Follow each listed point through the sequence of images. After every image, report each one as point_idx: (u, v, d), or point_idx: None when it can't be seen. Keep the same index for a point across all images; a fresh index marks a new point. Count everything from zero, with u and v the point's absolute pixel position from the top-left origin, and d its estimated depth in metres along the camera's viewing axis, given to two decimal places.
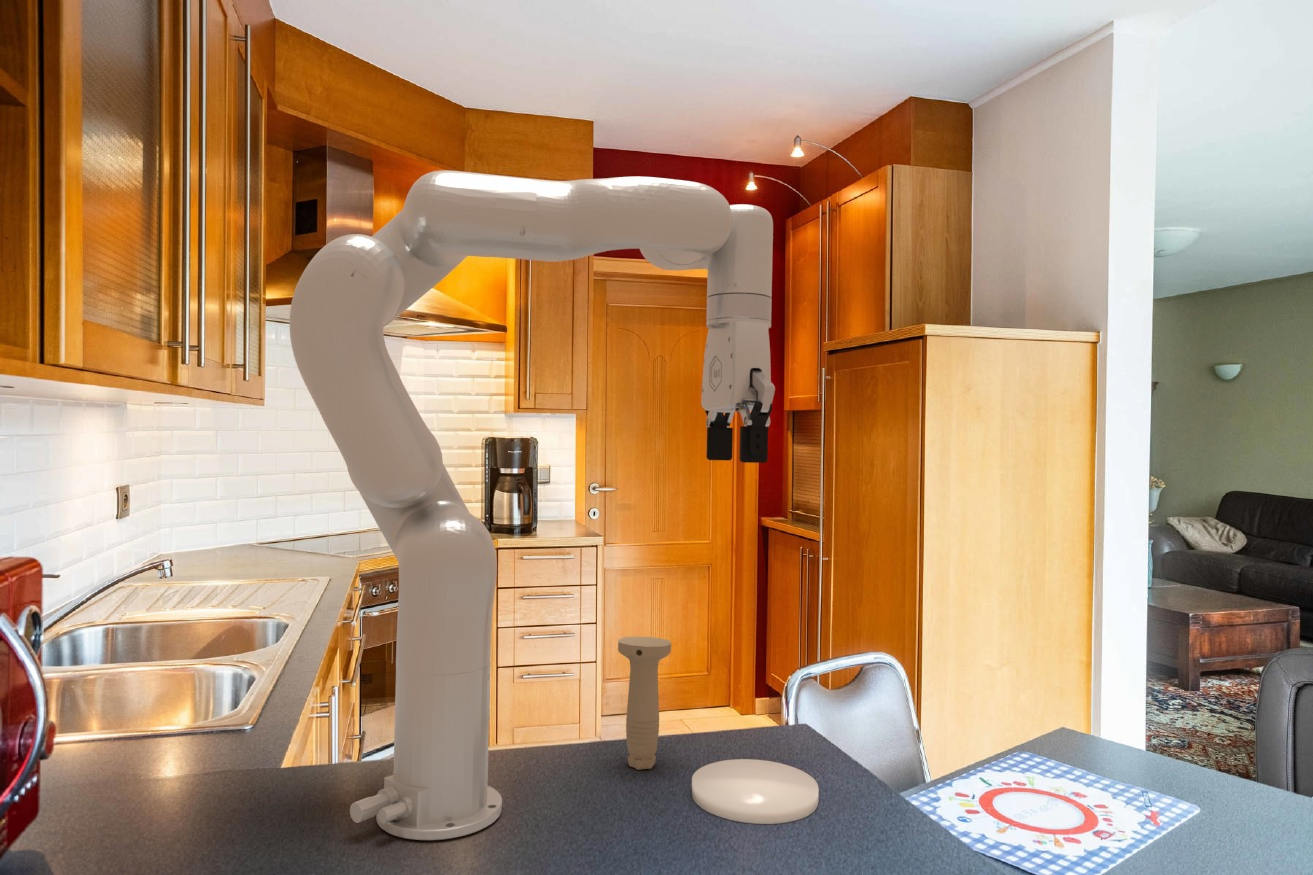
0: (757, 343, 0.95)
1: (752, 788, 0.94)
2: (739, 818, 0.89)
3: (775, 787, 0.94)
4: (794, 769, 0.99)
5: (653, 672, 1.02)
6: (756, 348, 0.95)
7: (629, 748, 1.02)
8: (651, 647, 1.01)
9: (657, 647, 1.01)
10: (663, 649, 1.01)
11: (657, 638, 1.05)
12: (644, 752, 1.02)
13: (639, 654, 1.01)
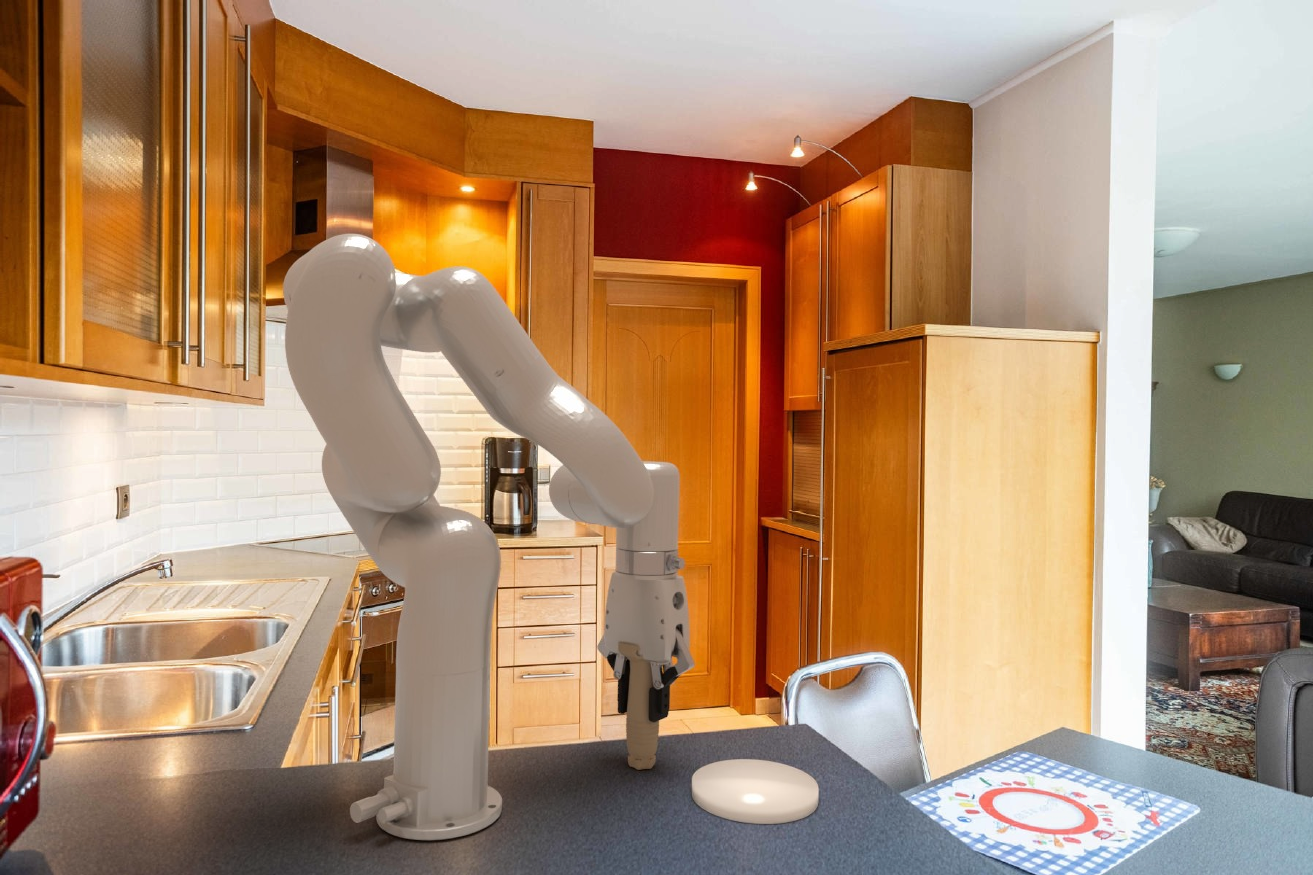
0: None
1: (752, 788, 0.94)
2: (739, 818, 0.89)
3: (775, 787, 0.94)
4: (794, 769, 0.99)
5: None
6: None
7: (629, 748, 1.02)
8: None
9: None
10: None
11: None
12: (644, 752, 1.02)
13: None
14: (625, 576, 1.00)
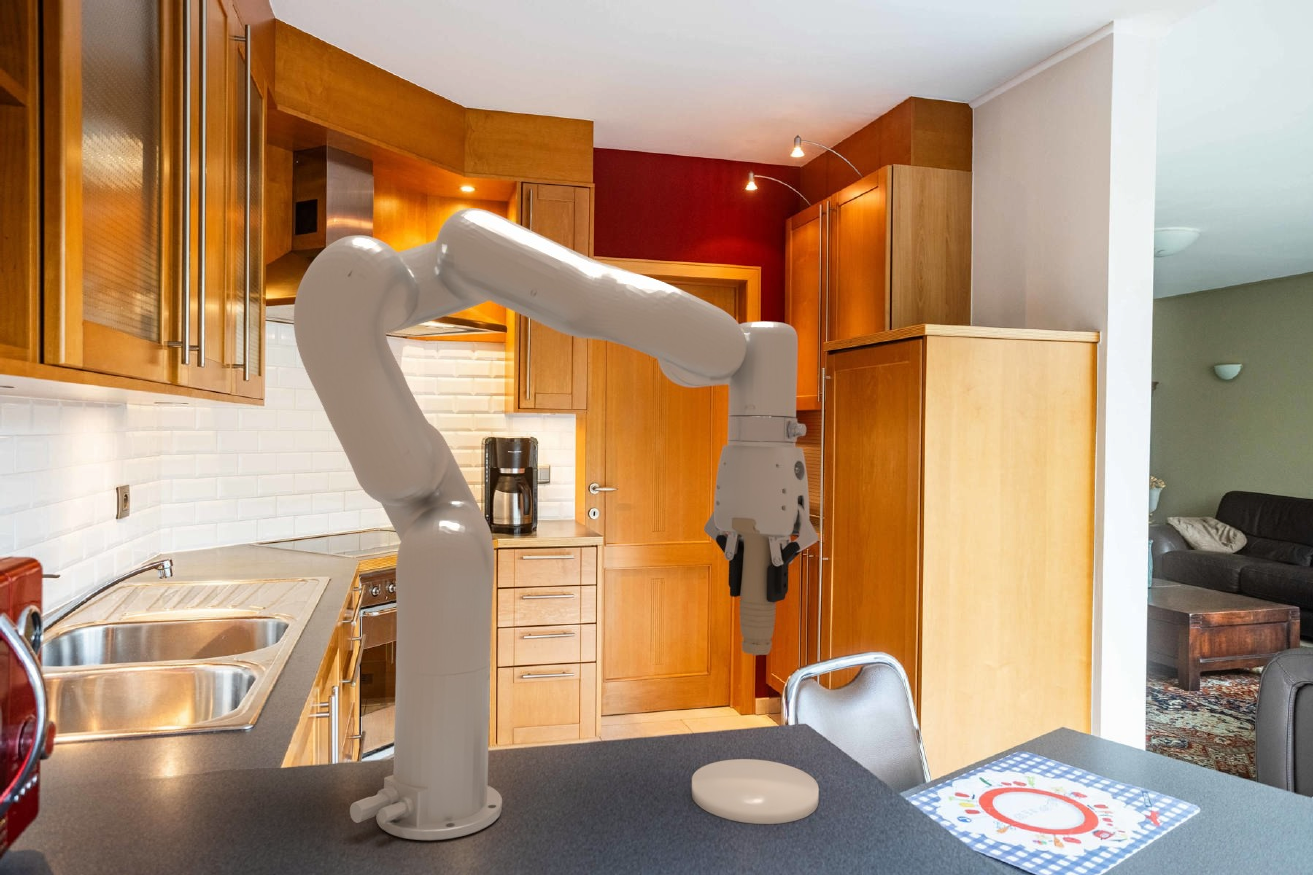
0: None
1: (752, 788, 0.94)
2: (739, 818, 0.89)
3: (775, 787, 0.94)
4: (794, 769, 0.99)
5: (770, 550, 0.94)
6: None
7: (744, 632, 0.94)
8: None
9: None
10: None
11: None
12: (761, 636, 0.94)
13: None
14: (742, 444, 0.93)
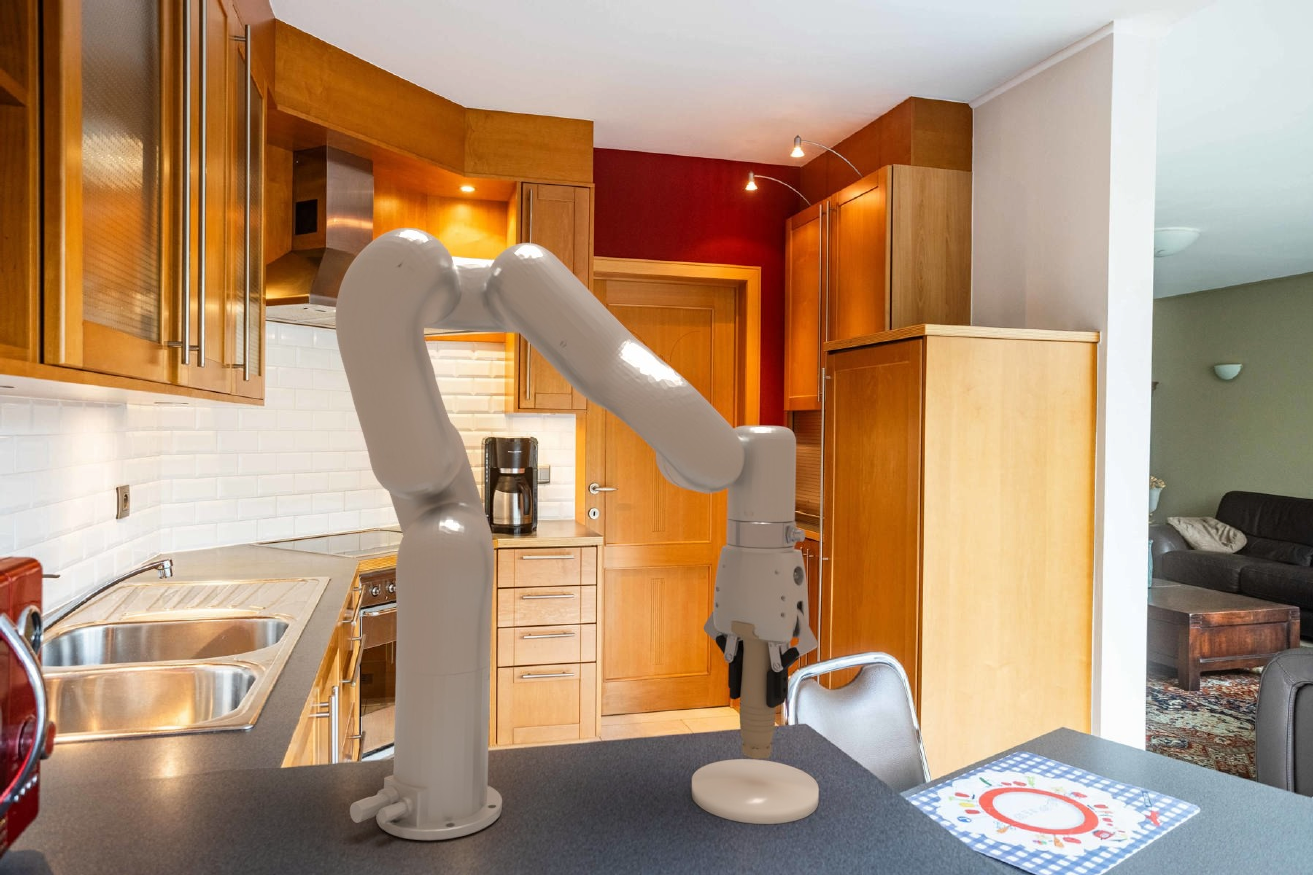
0: None
1: (752, 788, 0.94)
2: (739, 818, 0.89)
3: (775, 787, 0.94)
4: (794, 769, 0.99)
5: None
6: None
7: (744, 736, 0.94)
8: None
9: None
10: None
11: None
12: (761, 740, 0.94)
13: None
14: (741, 549, 0.92)
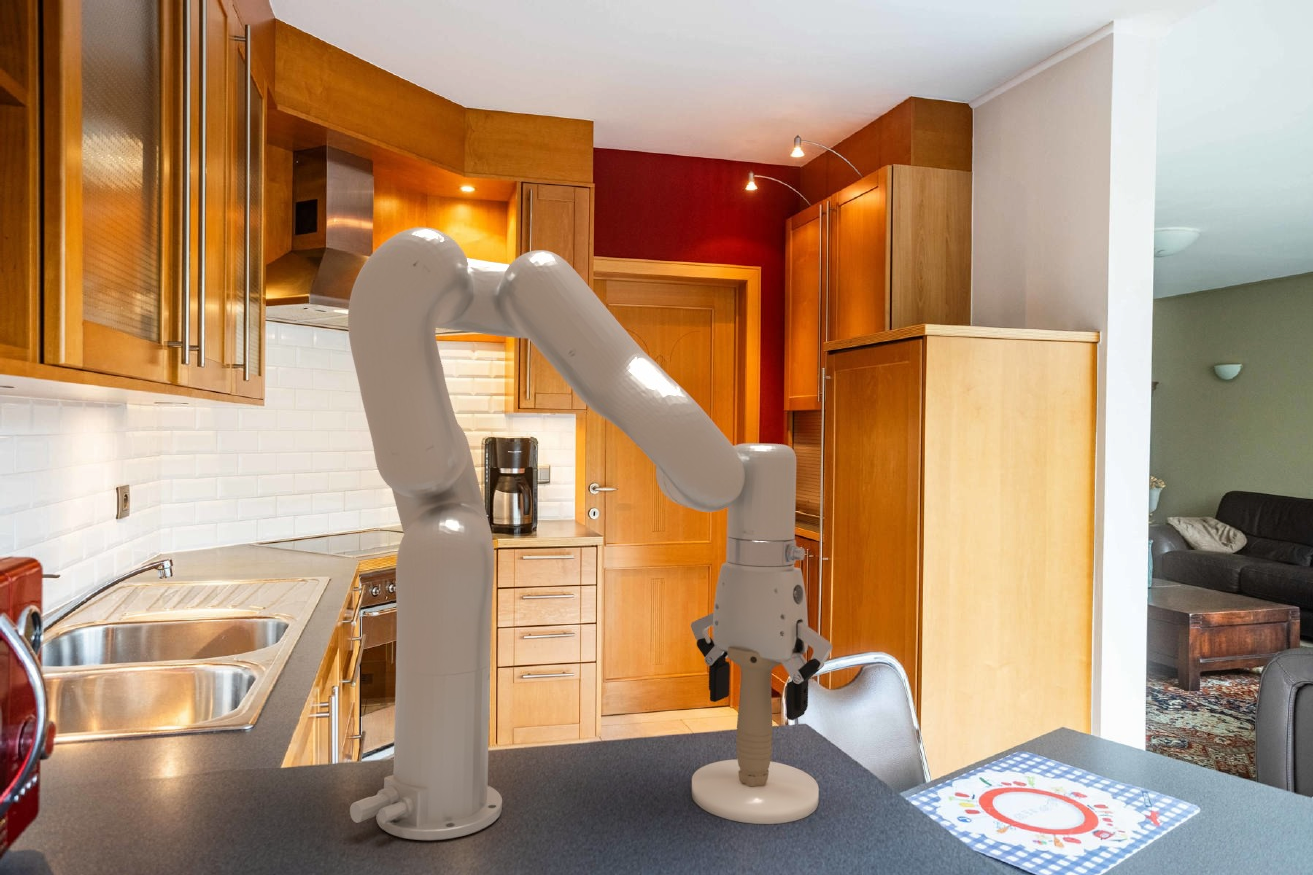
0: None
1: (752, 788, 0.94)
2: (739, 818, 0.89)
3: (775, 787, 0.94)
4: (794, 769, 0.99)
5: (767, 681, 0.94)
6: None
7: (741, 763, 0.94)
8: None
9: None
10: None
11: None
12: (758, 768, 0.94)
13: (753, 661, 0.93)
14: (740, 567, 0.92)
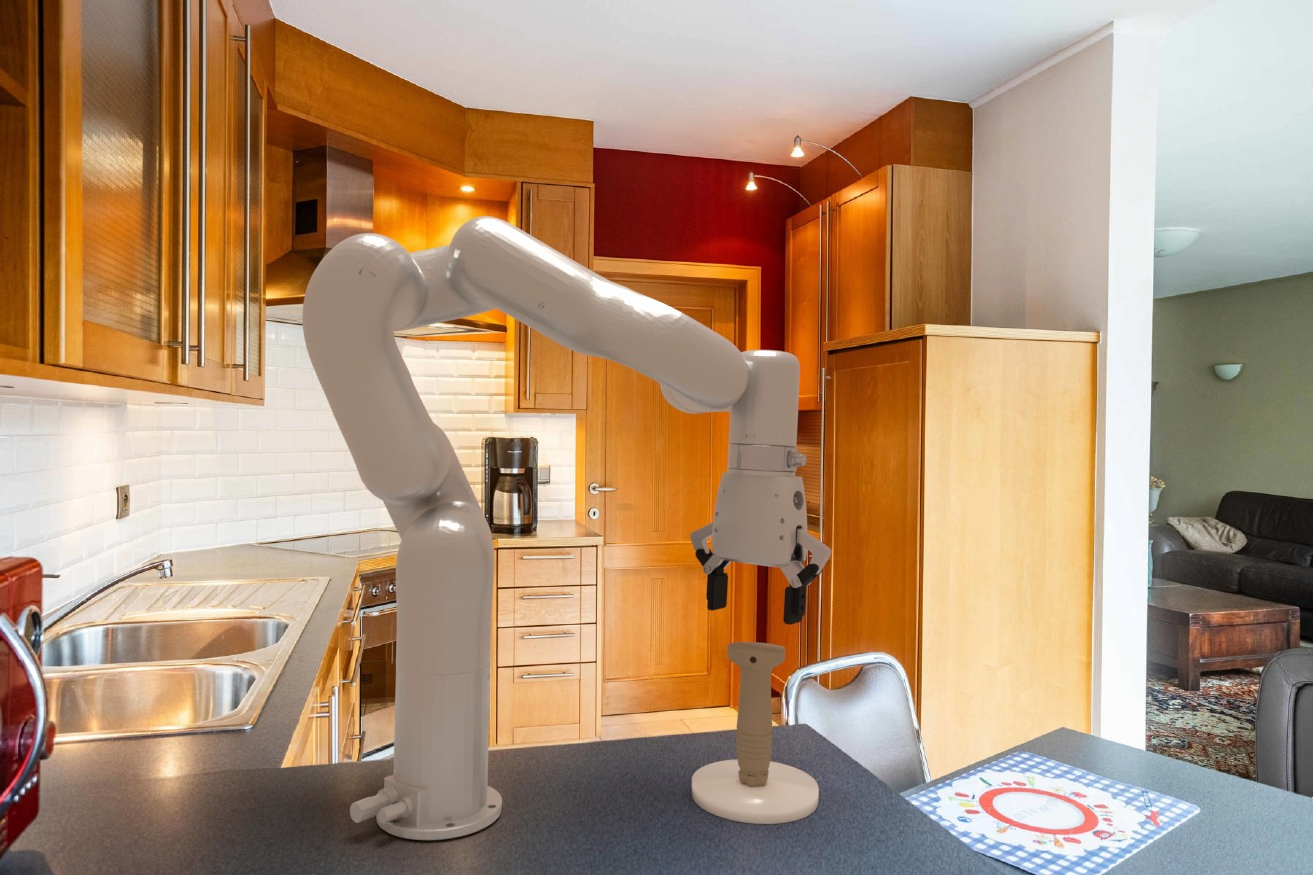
0: None
1: (752, 788, 0.94)
2: (739, 818, 0.89)
3: (775, 787, 0.94)
4: (794, 769, 0.99)
5: (767, 680, 0.94)
6: None
7: (741, 763, 0.94)
8: (766, 654, 0.93)
9: (773, 654, 0.93)
10: (779, 656, 0.93)
11: (768, 644, 0.97)
12: (758, 768, 0.94)
13: (753, 661, 0.93)
14: (741, 472, 0.93)
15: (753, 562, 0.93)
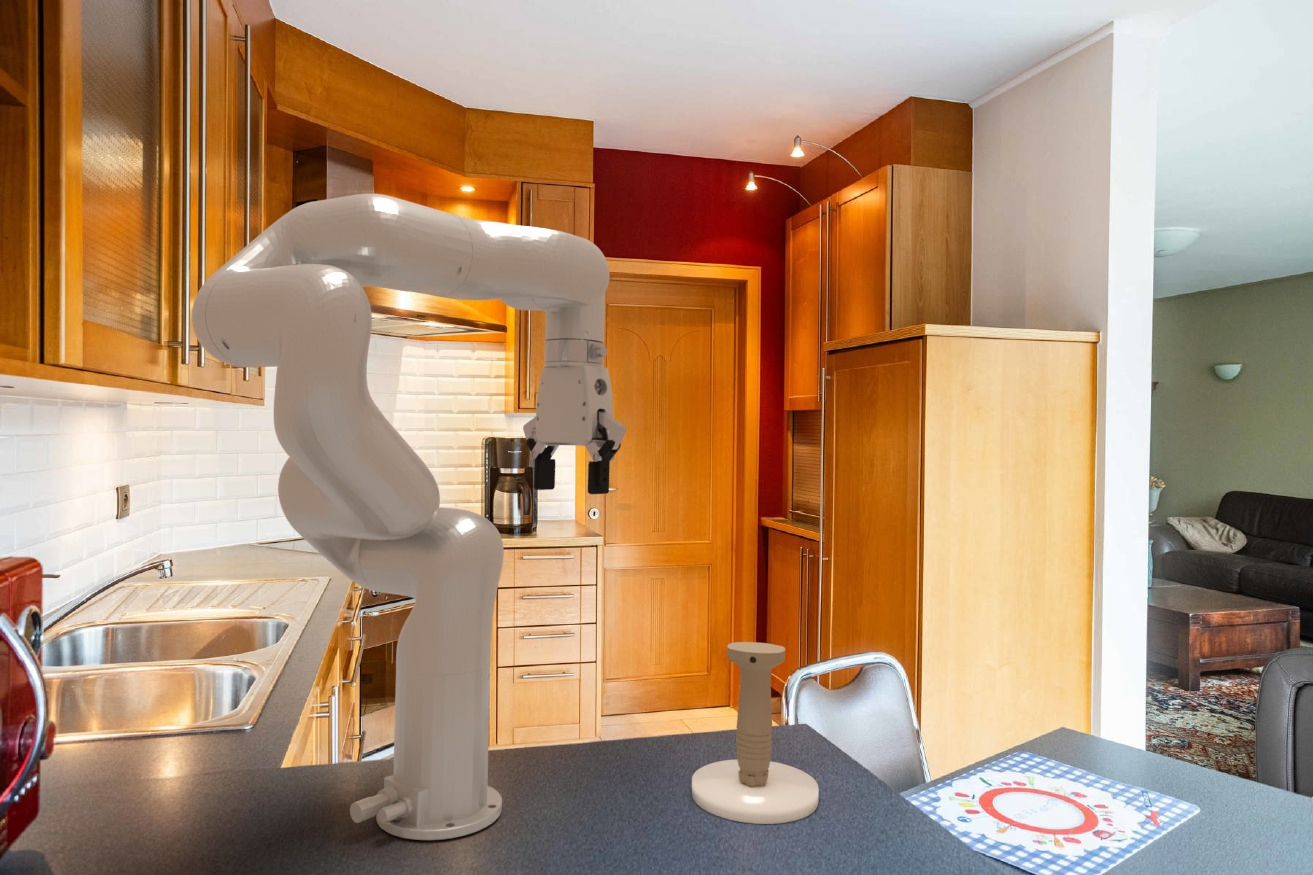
0: None
1: (752, 788, 0.94)
2: (739, 818, 0.89)
3: (775, 787, 0.94)
4: (794, 769, 0.99)
5: (767, 681, 0.94)
6: None
7: (741, 763, 0.94)
8: (766, 654, 0.93)
9: (772, 654, 0.93)
10: (779, 656, 0.93)
11: (767, 643, 0.97)
12: (758, 768, 0.93)
13: (752, 661, 0.93)
14: (551, 364, 1.06)
15: (565, 443, 1.07)
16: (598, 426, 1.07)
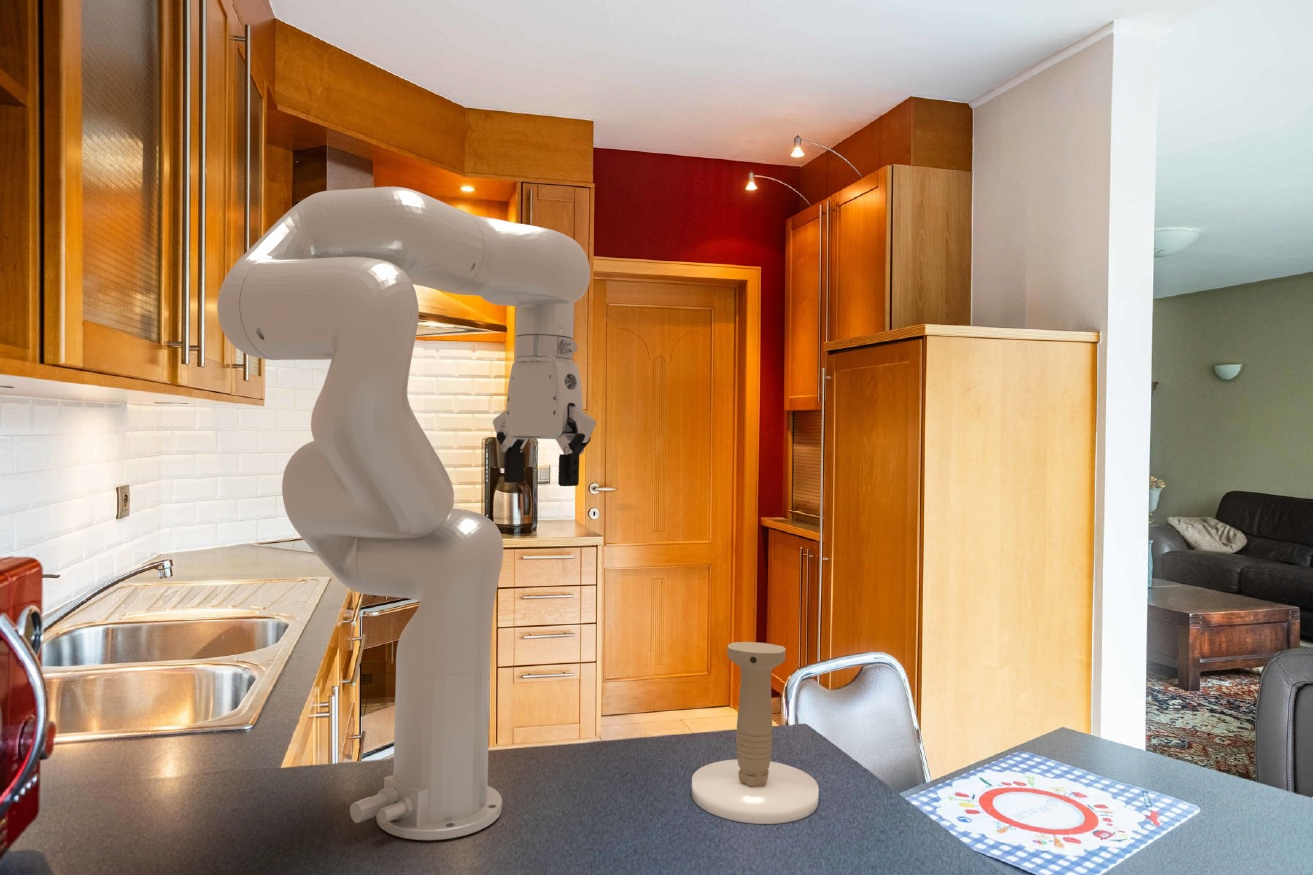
0: None
1: (752, 788, 0.94)
2: (739, 818, 0.89)
3: (775, 787, 0.94)
4: (794, 769, 0.99)
5: (767, 681, 0.94)
6: None
7: (741, 763, 0.94)
8: (766, 654, 0.93)
9: (773, 654, 0.93)
10: (779, 656, 0.93)
11: (768, 644, 0.97)
12: (758, 768, 0.93)
13: (753, 661, 0.93)
14: (521, 359, 1.08)
15: (535, 436, 1.09)
16: (568, 420, 1.10)
